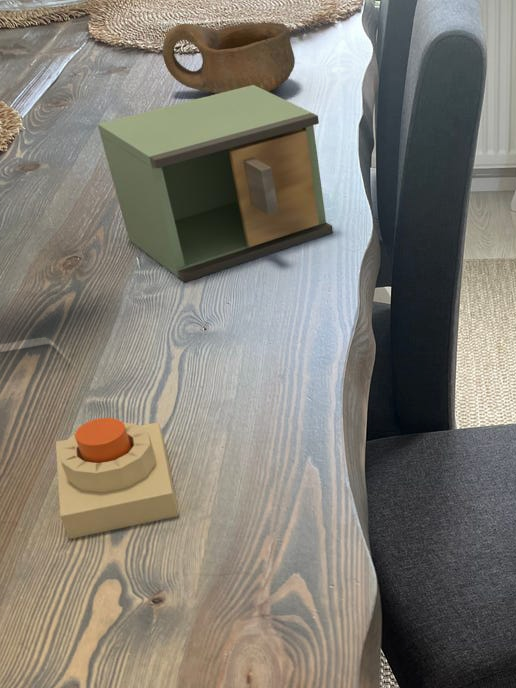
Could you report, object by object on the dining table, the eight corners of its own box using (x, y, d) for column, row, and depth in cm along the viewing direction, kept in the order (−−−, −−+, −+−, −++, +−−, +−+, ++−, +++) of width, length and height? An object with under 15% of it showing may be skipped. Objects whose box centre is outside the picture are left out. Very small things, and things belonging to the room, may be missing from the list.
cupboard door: (266, 258, 103) (248, 161, 96) (246, 245, 106) (228, 149, 99) (336, 235, 107) (324, 139, 100) (316, 223, 109) (303, 129, 102)
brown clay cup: (178, 109, 136) (157, 23, 131) (174, 109, 147) (155, 30, 142) (307, 91, 139) (292, 6, 134) (293, 92, 151) (279, 14, 146)
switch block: (179, 516, 75) (166, 472, 72) (69, 539, 74) (51, 495, 71) (165, 444, 82) (152, 402, 79) (64, 464, 80) (47, 421, 78)
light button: (133, 459, 74) (126, 439, 73) (83, 469, 74) (75, 449, 72) (129, 433, 77) (122, 413, 76) (80, 442, 76) (73, 422, 75)
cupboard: (184, 282, 103) (154, 160, 94) (129, 240, 110) (97, 123, 101) (333, 232, 110) (318, 115, 102) (272, 196, 118) (253, 84, 109)
